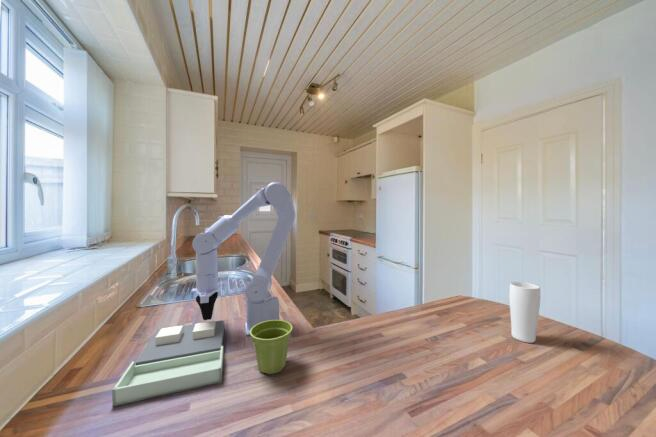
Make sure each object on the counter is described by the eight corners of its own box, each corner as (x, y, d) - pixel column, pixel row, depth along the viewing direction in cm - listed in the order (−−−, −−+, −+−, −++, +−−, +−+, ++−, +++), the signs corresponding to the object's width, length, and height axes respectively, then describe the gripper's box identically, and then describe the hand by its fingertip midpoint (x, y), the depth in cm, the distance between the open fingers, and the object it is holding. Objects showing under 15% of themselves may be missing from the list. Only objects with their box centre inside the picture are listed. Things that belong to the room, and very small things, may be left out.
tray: (223, 357, 59) (223, 345, 59) (221, 382, 51) (221, 368, 51) (132, 375, 53) (132, 361, 53) (112, 406, 44) (112, 390, 44)
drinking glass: (534, 335, 70) (535, 283, 69) (543, 347, 64) (544, 290, 63) (505, 330, 73) (506, 280, 72) (511, 341, 67) (512, 286, 66)
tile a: (215, 327, 69) (215, 320, 69) (214, 336, 65) (214, 328, 64) (195, 330, 67) (195, 323, 67) (192, 339, 63) (192, 331, 63)
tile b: (183, 332, 66) (183, 325, 66) (179, 341, 62) (179, 333, 62) (161, 335, 65) (161, 328, 65) (155, 345, 60) (155, 337, 60)
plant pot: (254, 385, 50) (254, 343, 49) (247, 360, 58) (246, 324, 58) (298, 371, 54) (298, 332, 54) (285, 350, 62) (285, 316, 62)
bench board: (224, 328, 74) (224, 320, 74) (221, 357, 59) (221, 347, 59) (157, 338, 68) (157, 329, 68) (135, 373, 53) (135, 362, 53)
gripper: (195, 269, 78) (196, 311, 78) (187, 281, 64) (187, 332, 65) (219, 267, 80) (220, 308, 81) (216, 278, 67) (217, 327, 67)
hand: (207, 318), depth 73 cm, fingers closed
